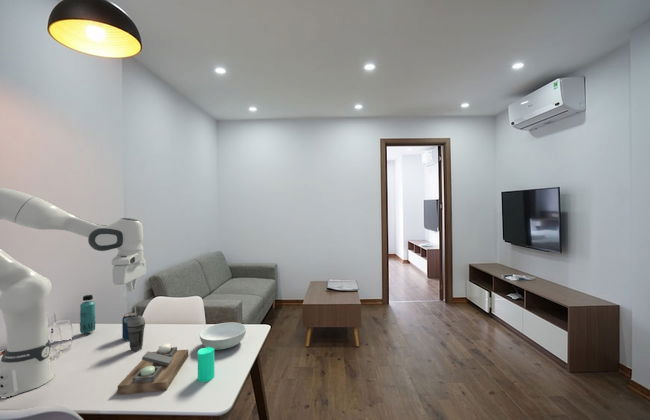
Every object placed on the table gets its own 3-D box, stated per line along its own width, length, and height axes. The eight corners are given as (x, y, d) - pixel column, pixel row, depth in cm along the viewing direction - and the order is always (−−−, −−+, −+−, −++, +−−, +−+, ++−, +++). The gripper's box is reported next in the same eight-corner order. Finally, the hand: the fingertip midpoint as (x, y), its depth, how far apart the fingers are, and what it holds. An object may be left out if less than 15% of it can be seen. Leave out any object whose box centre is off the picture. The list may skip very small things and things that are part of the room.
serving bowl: (219, 333, 155) (219, 320, 155) (254, 338, 149) (254, 325, 149) (189, 351, 136) (189, 336, 136) (227, 358, 129) (227, 342, 129)
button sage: (138, 379, 107) (138, 372, 107) (144, 372, 111) (144, 366, 111) (151, 378, 108) (151, 371, 108) (156, 371, 112) (156, 365, 112)
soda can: (131, 341, 146) (131, 316, 146) (118, 340, 147) (118, 316, 147) (142, 335, 153) (141, 312, 153) (130, 334, 154) (130, 311, 154)
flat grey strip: (141, 359, 115) (142, 356, 115) (146, 354, 119) (147, 351, 119) (167, 366, 116) (168, 363, 116) (172, 360, 120) (173, 357, 120)
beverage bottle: (84, 331, 158) (84, 294, 158) (98, 330, 160) (98, 293, 160) (76, 336, 152) (76, 297, 152) (91, 335, 153) (91, 296, 153)
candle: (215, 379, 113) (215, 347, 113) (198, 383, 110) (198, 351, 110) (213, 371, 118) (212, 341, 118) (196, 375, 115) (196, 344, 115)
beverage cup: (130, 354, 133) (130, 309, 133) (124, 350, 137) (124, 306, 137) (148, 348, 138) (148, 305, 138) (141, 344, 143) (141, 302, 143)
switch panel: (117, 394, 104) (117, 380, 104) (149, 359, 129) (149, 347, 129) (166, 390, 106) (166, 376, 106) (188, 356, 131) (188, 345, 131)
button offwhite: (157, 354, 123) (157, 348, 123) (161, 349, 127) (161, 343, 127) (168, 353, 124) (168, 347, 124) (172, 348, 128) (172, 343, 128)
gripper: (135, 253, 133) (135, 284, 133) (108, 261, 113) (109, 297, 113) (150, 253, 134) (150, 283, 134) (126, 261, 114) (127, 297, 114)
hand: (131, 290), depth 124 cm, fingers closed
